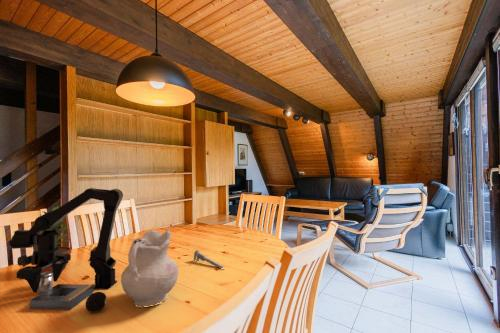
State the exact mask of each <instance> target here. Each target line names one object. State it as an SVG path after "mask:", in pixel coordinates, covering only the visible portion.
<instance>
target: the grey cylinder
mask: <svg viewBox="0 0 500 333" xmlns="http://www.w3.org/2000/svg"><path fill="white" fill-rule="evenodd" d="M40 275H42V277H41V280H40V284H39V288H38V291H37V294H38V295H40V294H42V293H43V292H45V291H47V290H49V289H50V288H52V287H54V280H53V271H47V272H42V273H41V274H40Z"/></svg>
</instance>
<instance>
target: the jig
mask: <svg viewBox="0 0 500 333" xmlns="http://www.w3.org/2000/svg"><path fill="white" fill-rule="evenodd" d="M94 286H95V283H90V284H82V283H81V284H80V283H79V284H75V283H73V284H72V283H70V284H69V283H58V284H56V285H53V287H52V288H50V289H49V290H47V291H45V292H43V293H42V294H38V295H36V296H35V297H33V298H31V299H29V310H49V311H50V310H53V311H71V310H72V309H73V308H75V307H76V306H78V305H79V304H80V303H81V302H83V301H85V299H86V300H87V298H88V297H89V296H90V295H91V294H93V293H94Z"/></svg>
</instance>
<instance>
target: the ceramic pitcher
mask: <svg viewBox="0 0 500 333" xmlns="http://www.w3.org/2000/svg"><path fill="white" fill-rule="evenodd" d="M171 231H172V230H171V229H165V232H164V233H162V232H160V231H159V230H153V229H152V230H151V229H150V230H148V231H146V232H145V233H144V234H143V235H142V237H141V238H140V237H138V238H133V241H132V243H131V245H130V247H129V251H128V254H127V255H128V258H127V259H128V265H127V266H126V267H125V268H124V270H123V271H122V272H121V275H120V276H121V277H120V283H121V287H122V290H123V292H124V293H125V294H126V296H128V297H130V298H131V299H132V300H133V305H134V304H135V305H137V306H141V307H140V308H143V307H144V306H150V305H155V304H157V303H160V302H163V301H164V300H165V299H166V300H167V298H168V296H167V293H168V294H169V293H170V292H171V291H172V289H173V288H174V287H175V285H176V283H177V281H178V278H179V267H178V264H177V263H176V261H175V260H173V259H171V258H170V257H169V256H168V248H169V246H170V244H171V238H172V237H171V236H172V233H171ZM166 297H167V298H166ZM166 300H165V301H166ZM165 301H164V302H165ZM164 302H163V303H164ZM135 305H134V306H135Z"/></svg>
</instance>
